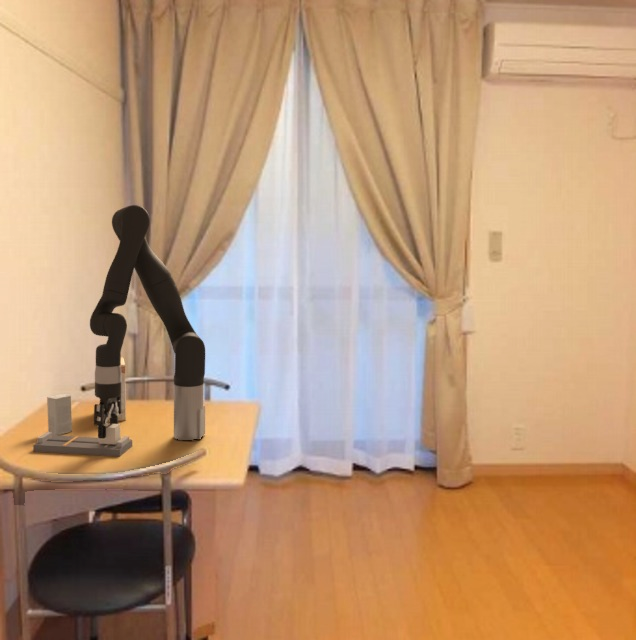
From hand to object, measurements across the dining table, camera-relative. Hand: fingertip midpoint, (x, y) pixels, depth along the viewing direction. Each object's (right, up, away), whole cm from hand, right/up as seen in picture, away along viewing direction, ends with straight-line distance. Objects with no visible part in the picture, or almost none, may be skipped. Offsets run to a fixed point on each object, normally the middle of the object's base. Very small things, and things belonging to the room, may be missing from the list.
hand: (108, 433), depth 208 cm
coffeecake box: (-9, 0, +38) cm, 39 cm away
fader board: (-8, -5, +1) cm, 9 cm away
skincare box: (-20, -3, +16) cm, 26 cm away
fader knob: (+1, -2, 0) cm, 2 cm away
